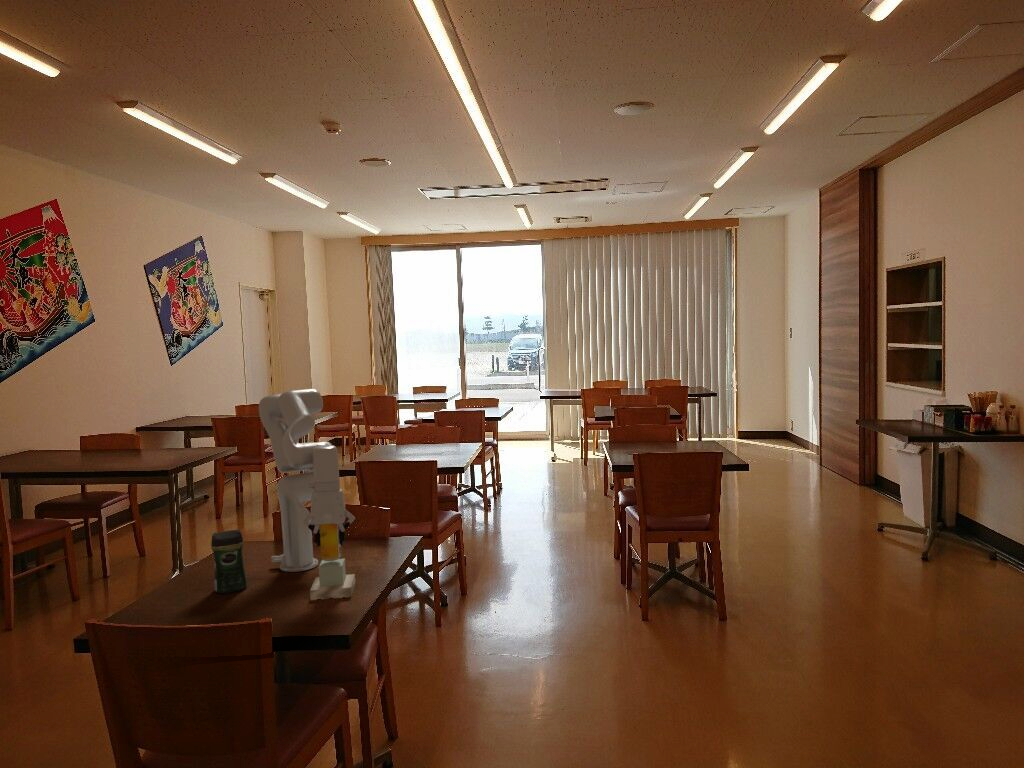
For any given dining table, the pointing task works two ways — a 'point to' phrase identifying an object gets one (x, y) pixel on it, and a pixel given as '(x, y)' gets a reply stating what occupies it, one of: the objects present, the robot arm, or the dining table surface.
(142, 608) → the dining table surface
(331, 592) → the slab
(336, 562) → the cube
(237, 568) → the coffee jar
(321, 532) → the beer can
